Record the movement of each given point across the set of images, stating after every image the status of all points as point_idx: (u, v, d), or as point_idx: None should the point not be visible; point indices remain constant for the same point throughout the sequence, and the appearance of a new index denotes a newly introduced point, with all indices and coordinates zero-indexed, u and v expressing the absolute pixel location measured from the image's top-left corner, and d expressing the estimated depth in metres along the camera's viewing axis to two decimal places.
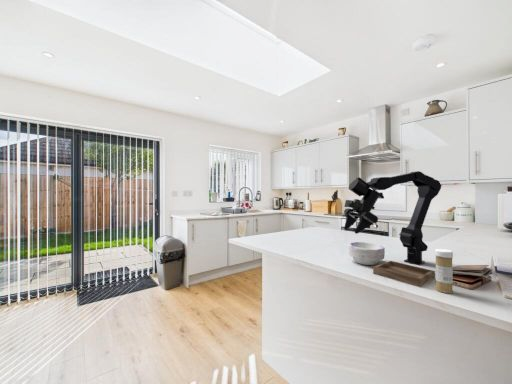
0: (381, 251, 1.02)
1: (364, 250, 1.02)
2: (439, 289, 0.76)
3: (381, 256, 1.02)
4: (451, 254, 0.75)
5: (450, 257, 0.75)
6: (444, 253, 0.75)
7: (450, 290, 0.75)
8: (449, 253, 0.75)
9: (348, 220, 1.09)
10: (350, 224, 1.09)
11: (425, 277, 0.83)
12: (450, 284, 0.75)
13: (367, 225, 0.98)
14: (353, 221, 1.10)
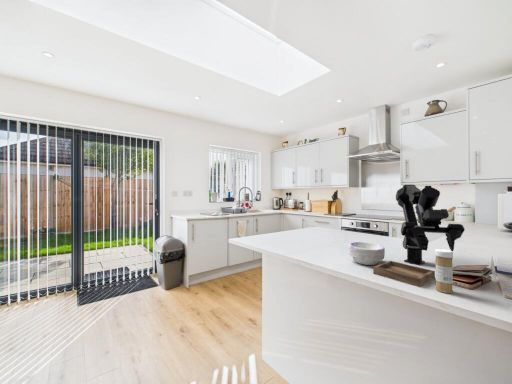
0: (381, 251, 1.02)
1: (364, 250, 1.02)
2: (439, 289, 0.76)
3: (381, 256, 1.02)
4: (451, 254, 0.75)
5: (450, 257, 0.75)
6: (444, 253, 0.75)
7: (450, 290, 0.75)
8: (449, 253, 0.75)
9: None
10: None
11: (425, 277, 0.83)
12: (450, 284, 0.75)
13: None
14: None
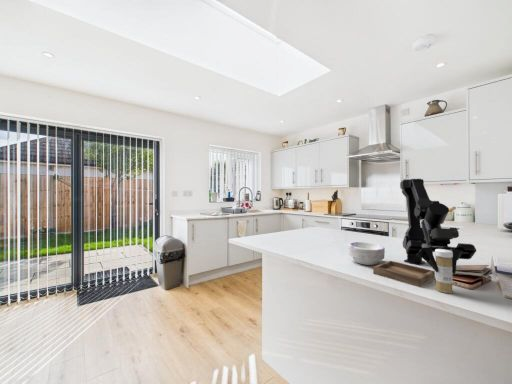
0: (381, 251, 1.02)
1: (364, 250, 1.02)
2: (439, 289, 0.76)
3: (381, 256, 1.02)
4: (451, 254, 0.75)
5: (450, 257, 0.75)
6: (444, 253, 0.75)
7: (450, 290, 0.75)
8: (449, 253, 0.75)
9: None
10: None
11: (425, 277, 0.83)
12: (450, 284, 0.75)
13: None
14: None
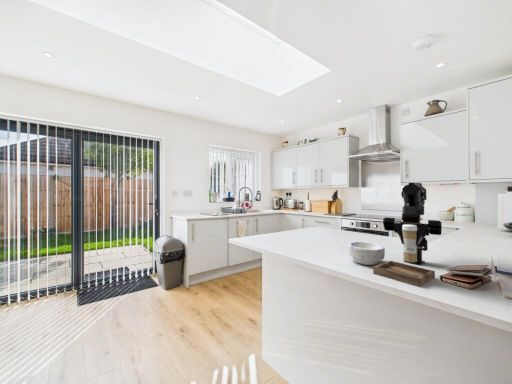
0: (381, 251, 1.02)
1: (364, 250, 1.02)
2: (404, 258, 0.88)
3: (381, 256, 1.02)
4: (413, 228, 0.85)
5: (412, 230, 0.85)
6: (407, 227, 0.86)
7: (413, 259, 0.86)
8: (411, 227, 0.85)
9: (402, 232, 0.90)
10: (402, 236, 0.90)
11: (425, 277, 0.83)
12: (413, 254, 0.86)
13: (423, 236, 0.88)
14: None
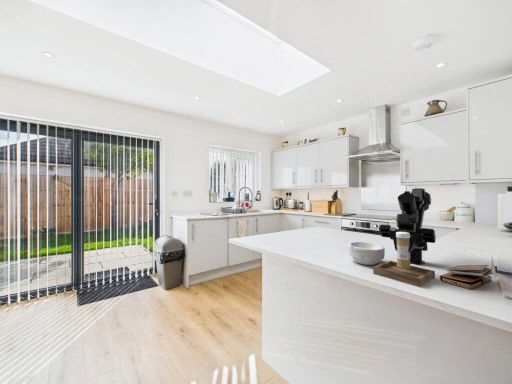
0: (381, 251, 1.02)
1: (364, 250, 1.02)
2: (397, 264, 0.91)
3: (381, 256, 1.02)
4: (406, 235, 0.88)
5: (405, 238, 0.89)
6: (399, 234, 0.89)
7: (405, 266, 0.89)
8: (404, 234, 0.89)
9: (396, 239, 0.93)
10: None
11: (425, 277, 0.83)
12: (405, 261, 0.89)
13: (417, 243, 0.90)
14: None
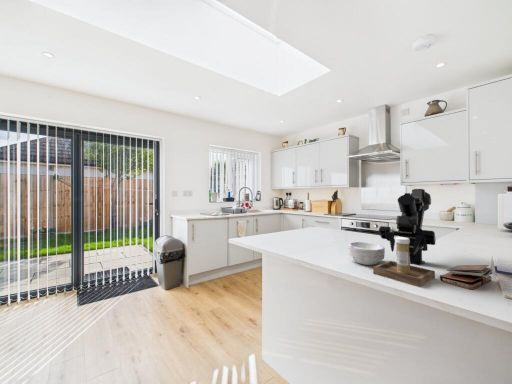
0: (381, 251, 1.02)
1: (364, 250, 1.02)
2: (397, 270, 0.91)
3: (381, 256, 1.02)
4: (405, 241, 0.88)
5: (404, 243, 0.89)
6: (399, 240, 0.90)
7: (405, 271, 0.89)
8: (403, 240, 0.89)
9: (393, 240, 0.94)
10: (393, 244, 0.94)
11: (425, 277, 0.83)
12: (405, 266, 0.89)
13: (421, 246, 0.90)
14: (394, 242, 0.96)
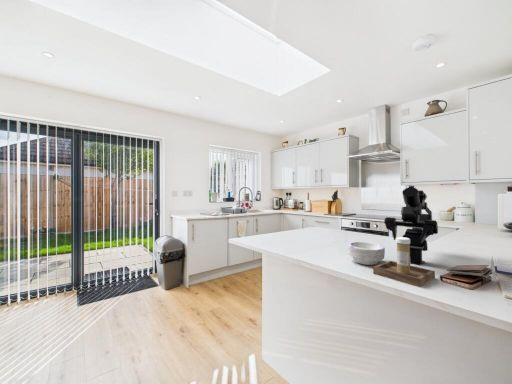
0: (381, 251, 1.02)
1: (364, 250, 1.02)
2: (397, 270, 0.91)
3: (381, 256, 1.02)
4: (406, 241, 0.88)
5: (405, 243, 0.89)
6: (400, 240, 0.90)
7: (405, 271, 0.89)
8: (404, 240, 0.89)
9: (395, 229, 1.01)
10: (395, 234, 1.01)
11: (425, 277, 0.83)
12: (405, 266, 0.89)
13: (427, 235, 0.95)
14: (396, 231, 1.03)
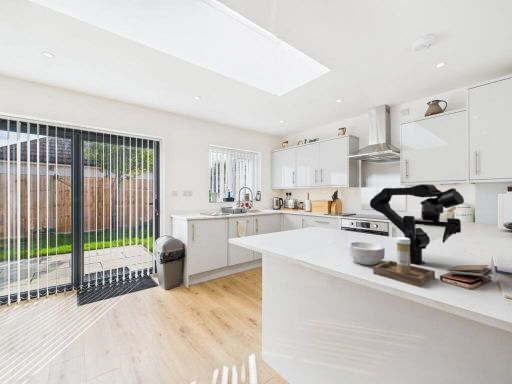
0: (381, 251, 1.02)
1: (364, 250, 1.02)
2: (397, 270, 0.91)
3: (381, 256, 1.02)
4: (406, 241, 0.88)
5: (405, 243, 0.89)
6: (400, 240, 0.89)
7: (405, 271, 0.89)
8: (404, 240, 0.89)
9: (414, 228, 0.96)
10: (414, 233, 0.97)
11: (425, 277, 0.83)
12: (405, 266, 0.89)
13: (450, 234, 0.90)
14: (415, 230, 0.98)
